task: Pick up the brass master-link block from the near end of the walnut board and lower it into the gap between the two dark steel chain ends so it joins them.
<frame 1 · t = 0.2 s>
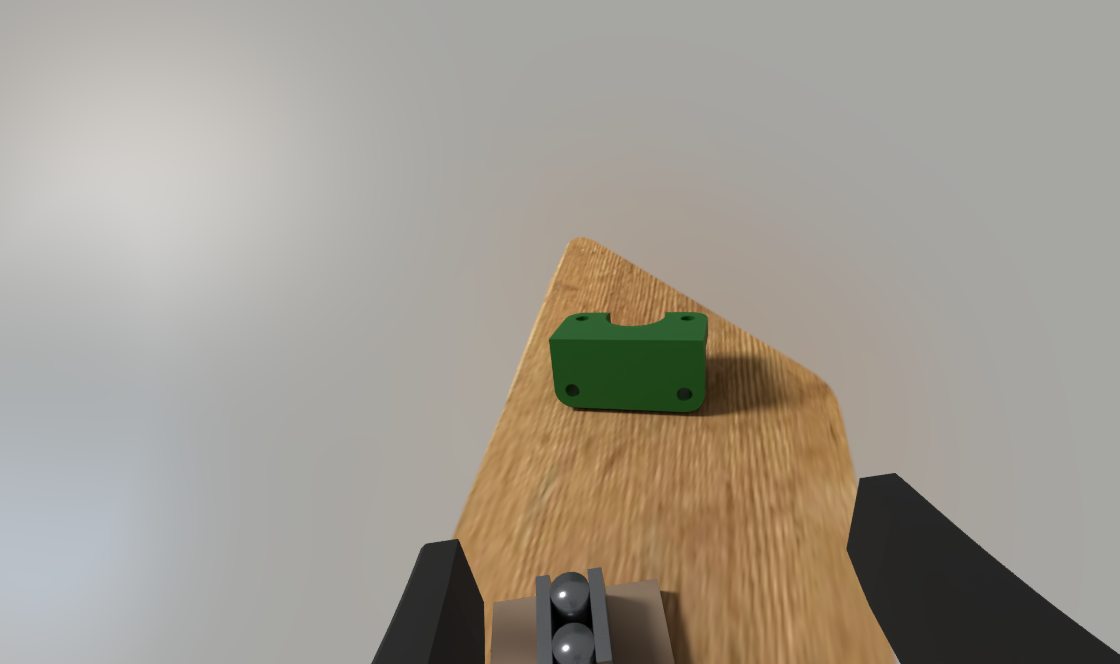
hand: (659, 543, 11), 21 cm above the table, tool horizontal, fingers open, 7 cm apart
clamp: (636, 386, 48), on the table
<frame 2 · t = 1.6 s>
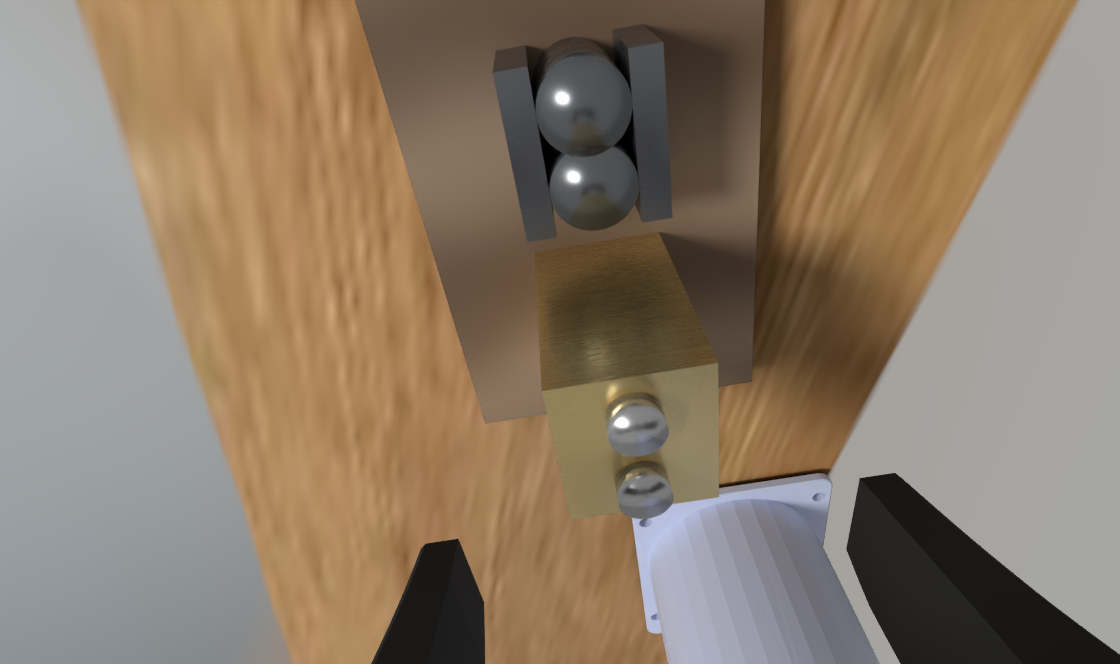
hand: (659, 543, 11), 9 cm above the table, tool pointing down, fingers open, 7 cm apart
board: (567, 41, 15), on the table
master link: (604, 302, 18), point 1 cm above the table, touching board
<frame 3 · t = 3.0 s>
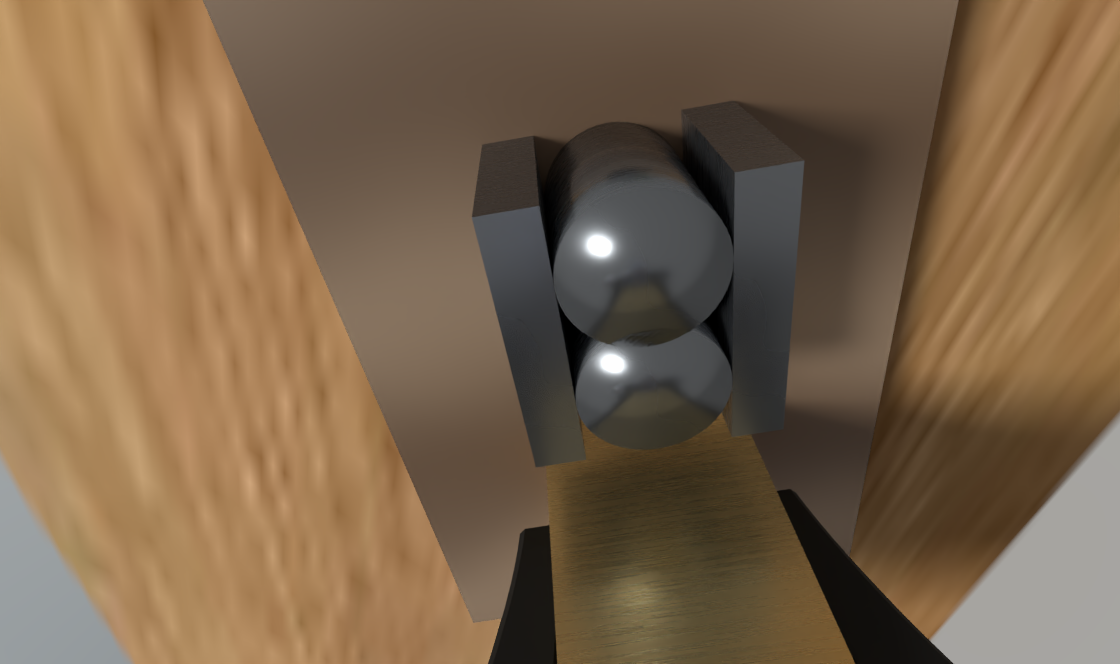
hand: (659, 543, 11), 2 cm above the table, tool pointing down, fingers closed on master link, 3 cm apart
board: (600, 120, 9), on the table
master link: (646, 484, 12), point 1 cm above the table, touching board, gripper
when the fingers open (4 cm above the table, at t = 6.1 s): master link drops 1 cm, resting on board.
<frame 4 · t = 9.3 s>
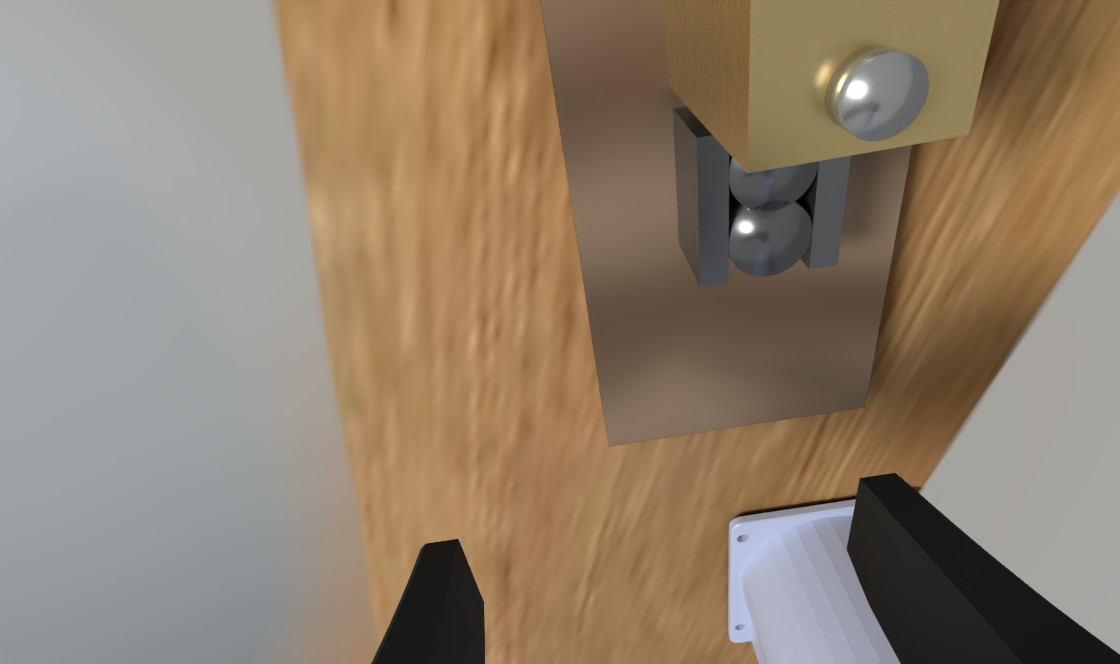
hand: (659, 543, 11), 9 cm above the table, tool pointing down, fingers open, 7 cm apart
board: (729, 96, 16), on the table
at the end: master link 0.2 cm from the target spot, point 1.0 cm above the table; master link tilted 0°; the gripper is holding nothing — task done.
